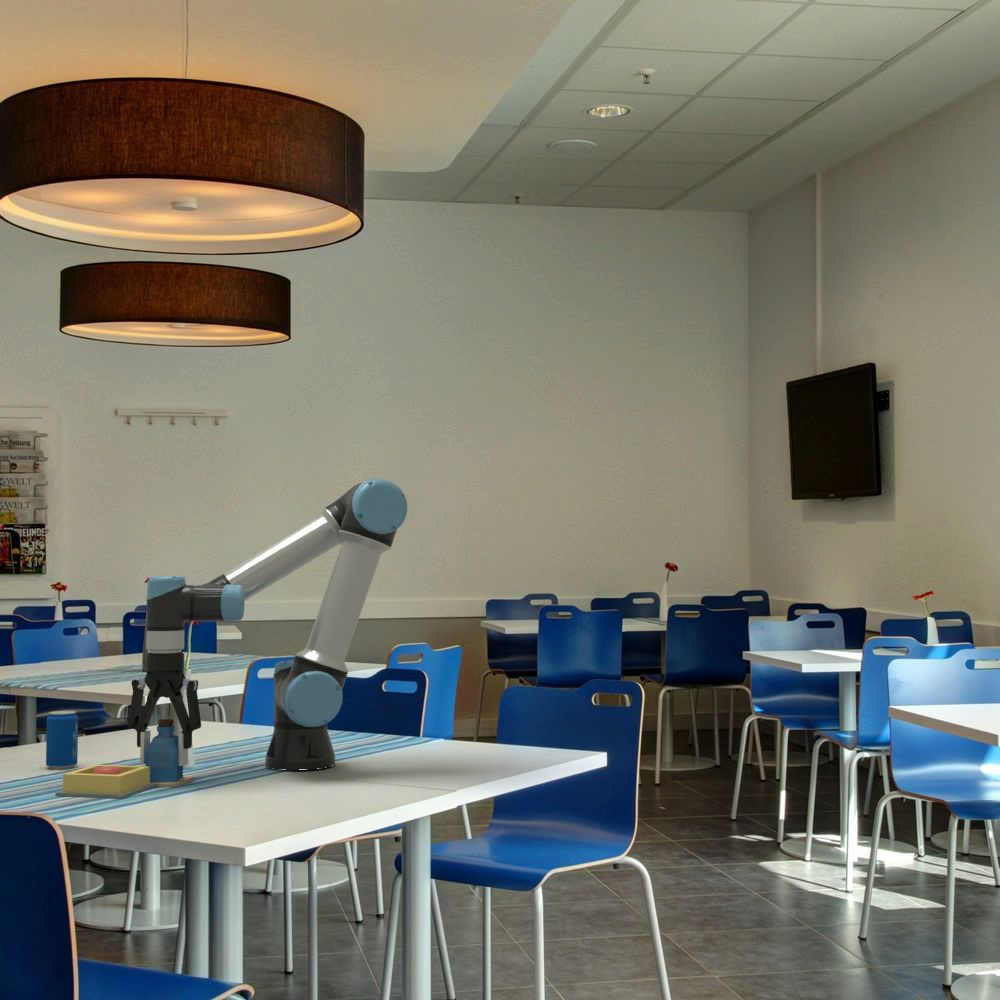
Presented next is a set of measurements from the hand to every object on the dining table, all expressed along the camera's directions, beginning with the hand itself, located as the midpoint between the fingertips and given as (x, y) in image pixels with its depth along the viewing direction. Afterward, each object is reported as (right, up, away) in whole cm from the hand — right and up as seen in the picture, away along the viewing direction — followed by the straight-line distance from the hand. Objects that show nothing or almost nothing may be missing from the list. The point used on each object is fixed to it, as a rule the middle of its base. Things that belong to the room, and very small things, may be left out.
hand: (164, 764), depth 264 cm
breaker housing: (-9, -3, -10) cm, 13 cm away
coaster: (0, -4, 0) cm, 4 cm away
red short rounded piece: (-9, -2, -10) cm, 13 cm away
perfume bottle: (0, -3, 0) cm, 3 cm away
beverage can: (-27, -5, +19) cm, 33 cm away
